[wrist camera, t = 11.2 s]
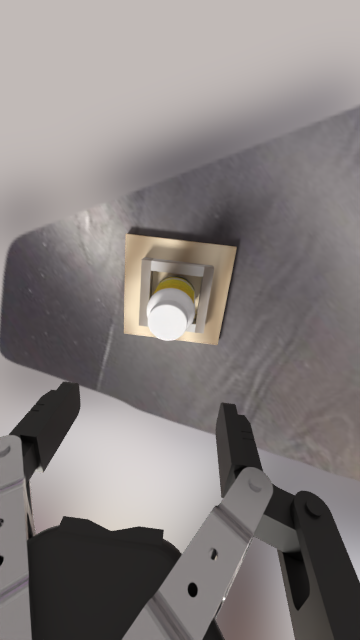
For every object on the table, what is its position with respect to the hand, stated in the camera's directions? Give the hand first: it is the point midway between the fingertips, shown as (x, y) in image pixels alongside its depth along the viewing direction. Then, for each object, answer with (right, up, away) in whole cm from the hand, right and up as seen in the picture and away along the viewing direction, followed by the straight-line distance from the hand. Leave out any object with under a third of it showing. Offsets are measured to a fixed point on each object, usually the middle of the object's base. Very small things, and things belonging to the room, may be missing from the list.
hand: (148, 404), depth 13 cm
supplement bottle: (+1, +8, +19) cm, 21 cm away
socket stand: (+1, +9, +20) cm, 22 cm away
